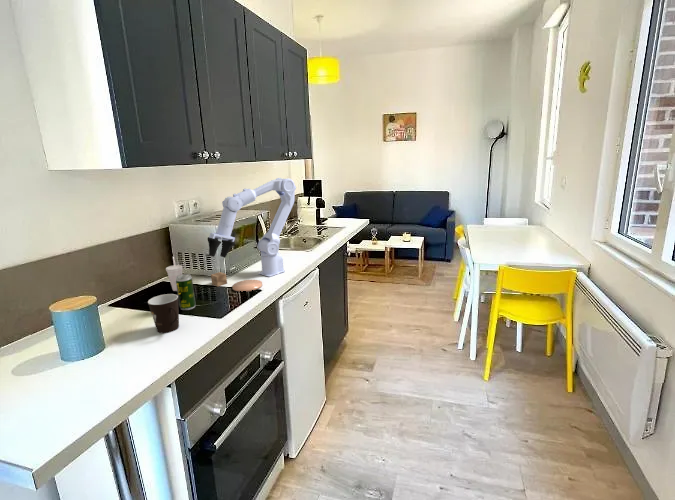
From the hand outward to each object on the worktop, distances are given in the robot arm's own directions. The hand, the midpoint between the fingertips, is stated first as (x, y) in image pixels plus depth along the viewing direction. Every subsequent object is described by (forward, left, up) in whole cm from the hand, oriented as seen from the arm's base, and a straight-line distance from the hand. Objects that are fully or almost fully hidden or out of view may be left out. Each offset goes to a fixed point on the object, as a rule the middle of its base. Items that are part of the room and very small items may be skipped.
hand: (217, 256), depth 150 cm
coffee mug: (+34, +23, -13) cm, 43 cm away
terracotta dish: (-5, +11, -13) cm, 18 cm away
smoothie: (+14, -11, -13) cm, 21 cm away
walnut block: (0, -2, -13) cm, 13 cm away
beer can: (+21, +11, -13) cm, 27 cm away
